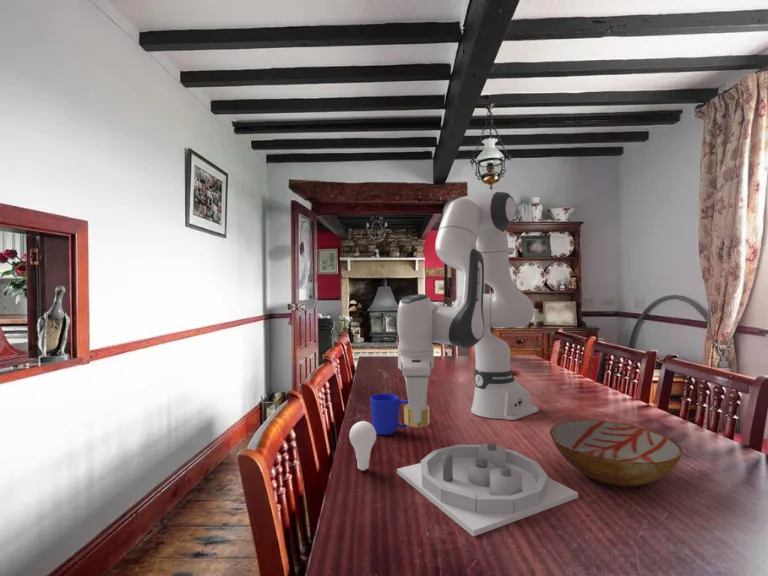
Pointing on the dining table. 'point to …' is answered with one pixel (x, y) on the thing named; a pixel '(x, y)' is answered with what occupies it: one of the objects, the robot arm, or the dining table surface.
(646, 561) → the dining table surface
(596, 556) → the dining table surface
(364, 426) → the lightbulb
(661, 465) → the bowl
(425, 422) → the wooden octagonal ring
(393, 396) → the mug
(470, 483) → the carrier board
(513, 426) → the dining table surface
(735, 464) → the dining table surface
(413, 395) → the robot arm
